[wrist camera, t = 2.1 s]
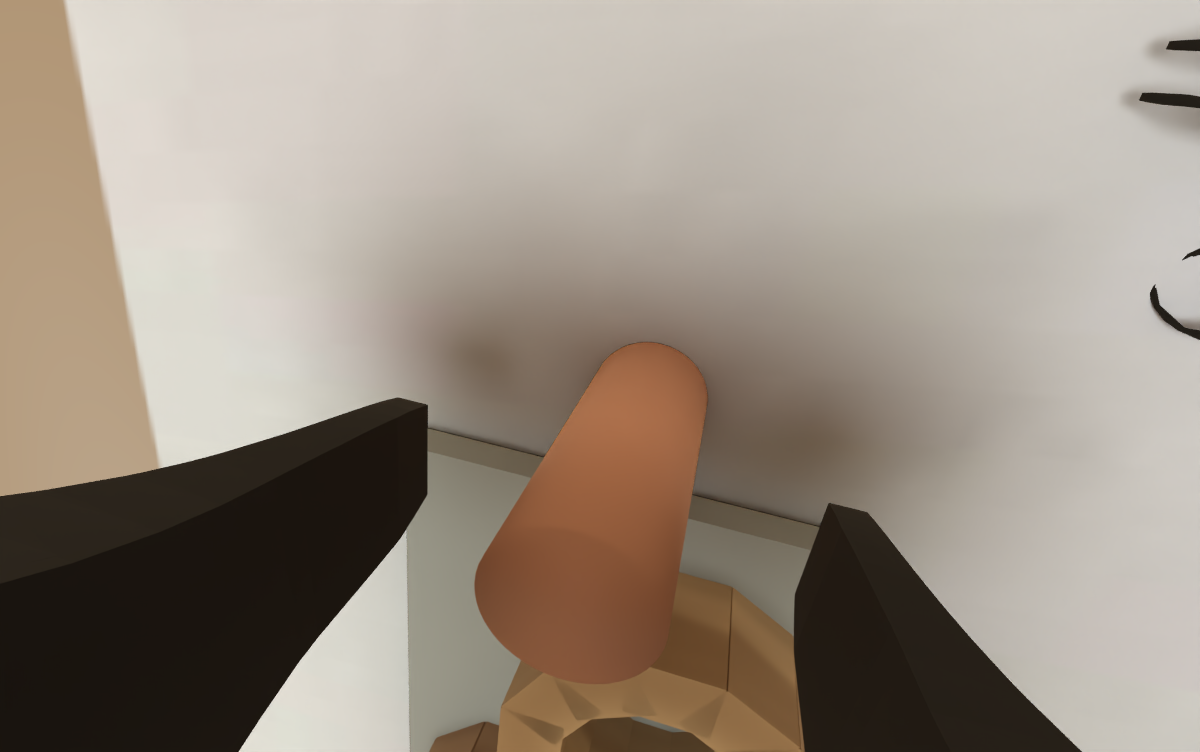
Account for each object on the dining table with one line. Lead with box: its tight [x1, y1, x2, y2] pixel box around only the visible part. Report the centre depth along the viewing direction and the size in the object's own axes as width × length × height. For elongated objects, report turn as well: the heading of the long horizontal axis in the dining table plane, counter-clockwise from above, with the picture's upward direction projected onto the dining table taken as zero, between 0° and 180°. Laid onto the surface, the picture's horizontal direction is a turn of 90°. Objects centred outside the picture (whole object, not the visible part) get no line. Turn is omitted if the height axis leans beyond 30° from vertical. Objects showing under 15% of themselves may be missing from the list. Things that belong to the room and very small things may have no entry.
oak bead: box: [497, 572, 805, 752], centre depth 15 cm, size 8×8×3 cm
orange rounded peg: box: [474, 342, 708, 684], centre depth 11 cm, size 3×3×7 cm
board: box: [407, 428, 820, 752], centre depth 18 cm, size 16×12×1 cm
